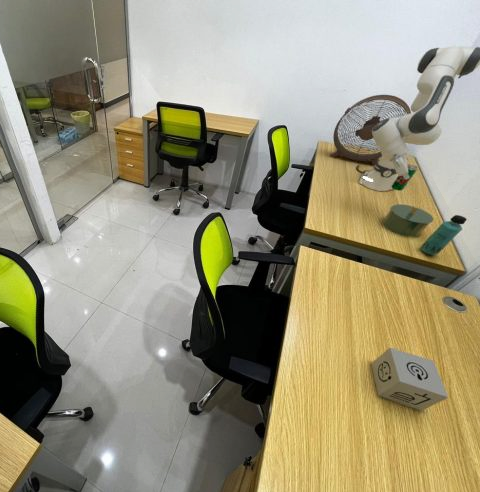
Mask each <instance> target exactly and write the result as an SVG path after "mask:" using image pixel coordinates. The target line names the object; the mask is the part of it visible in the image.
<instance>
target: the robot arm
mask: <svg viewBox="0 0 480 492" xmlns="http://www.w3.org/2000/svg"><path fill="white" fill-rule="evenodd" d="M479 66H480V47H479V46H476V47H473V46H447V47H433V48H430V49H428V50H426V52H425V53H424V54H423V55H422V56H421V58H419V60H418V63H417V68H416V70H417V72H418V73H419V74H421V75H420V76H419V78H418V80H417V82H416V88H417V90H418V93H417V94H416V96H415V98H414V100H413V102H412V103H411V105H410V110H411V113H410V114H407V113H406V114H407V115H406V114H405V115H404V114H403V115H404V116H403V115H402V116H401V117H400V116H399V117H397V118H395V117H393V118H391V117H390V118H391V119H390V118H389V117H386V118H387V119H386V118H384V119H381V120H382V121H380V122H379V123H377V124H376V125H375V126H374V127H373V129H372V135H373V141H375V142H374V143H375V145H376V144H377V145H376V146H377V147H379V148H380V149H379V148H378V149H379V150H380V151H379V152H381V154H382V157H380V158H379V159H380V160H379V162H378V163H377V164H376V165H375V166H373V167H371V168H369V169H368V170H367V169H364V170H363V171H362V170H360V169H359V167H360V164H358V165H357V166H356V167H355V168H356V171H357V172H359V173H360V174H361V176H360V178H359V181H358V184H359V185H361V186H364V187H365V188H367V189H371V190H374V191H377V192H378V191H379V192H388V191H390V190H394V189H392V187H391V186H392V184H393V183H394V181H395V180H396V178H397V177H398V176H403V177H404V179H408V178H410V176H409V174H408V158H407V157H408V151H409V148H408V146H407V144H409V145H415V146H429V145H432V144H434V143H435V142H436V141H437V140H438V139H439V138H440V137H441V134H442V127H441V126H440V125H439V121H440V118H441V115H442V111H443V109H444V107H445V105H446V102H447V100H448V99H449V97H450V94H451V92H452V90H453V87H454V85H455V79H456V76H458V77H457V79H461V78H462V77H463V76H467V75H469V74H471V73H473V72H474V71H475V70H476V69H478V68H479Z"/></svg>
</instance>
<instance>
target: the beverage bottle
mask: <svg viewBox="0 0 480 492" xmlns="http://www.w3.org/2000/svg"><path fill="white" fill-rule="evenodd" d="M467 221H468V220H467V218H466V216H463V215H459V214H455V215H453V216H452V217H450V219H449V220H446V221H443V222H441V224H440V225H439V227H437V229H435V231H433V232H432V233H431V234H430V236H428V238H427V239H426V240H425V241H424V242H423V243H422V244H421V245H420V250H421V251H422V252H423V253H426V254H428V255H430V256H431V255H433V256H435V255H438V254H440V253H441V251H443V250H444V249H445V248H446V247H447V246H448V245H449V244H450V242H452V241H453V239H454V238H456V237H457V235H458V234H459V233H460V232H461V231H462V230H463V226H462V225H464V224H465V223H466V222H467Z"/></svg>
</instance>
